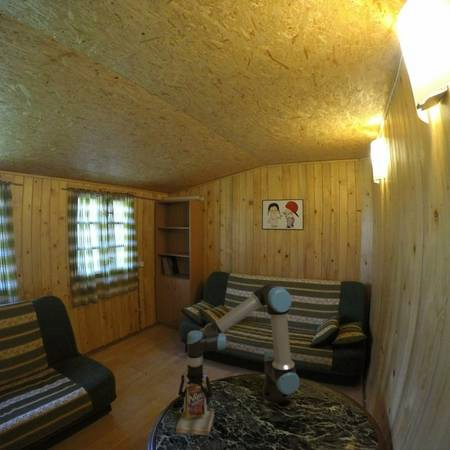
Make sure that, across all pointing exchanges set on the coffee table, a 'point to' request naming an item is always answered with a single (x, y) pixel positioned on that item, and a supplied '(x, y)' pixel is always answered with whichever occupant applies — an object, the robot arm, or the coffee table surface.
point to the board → (195, 423)
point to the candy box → (195, 400)
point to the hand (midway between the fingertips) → (195, 409)
